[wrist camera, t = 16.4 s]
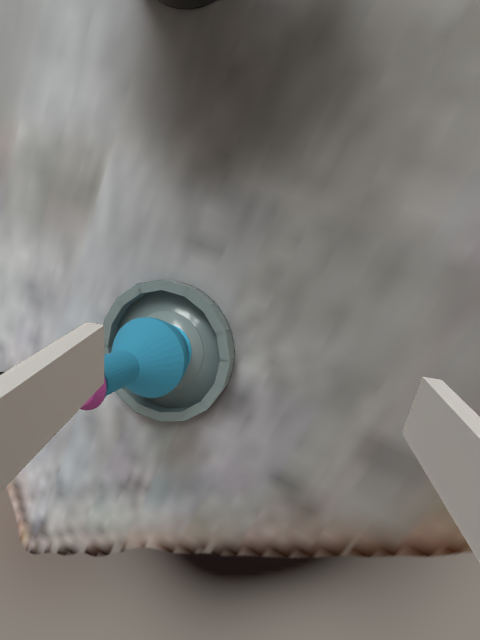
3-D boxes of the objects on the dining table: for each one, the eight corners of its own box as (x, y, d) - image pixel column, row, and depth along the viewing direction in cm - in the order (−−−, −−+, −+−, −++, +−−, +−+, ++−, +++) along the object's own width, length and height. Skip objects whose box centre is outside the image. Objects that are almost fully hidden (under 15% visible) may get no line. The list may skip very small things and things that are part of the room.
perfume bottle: (160, 398, 42) (69, 457, 28) (123, 337, 43) (16, 365, 28) (215, 362, 39) (146, 408, 25) (174, 299, 40) (85, 308, 26)
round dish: (91, 356, 46) (79, 360, 43) (154, 253, 41) (144, 251, 39) (184, 440, 43) (176, 449, 41) (262, 339, 38) (258, 343, 36)
